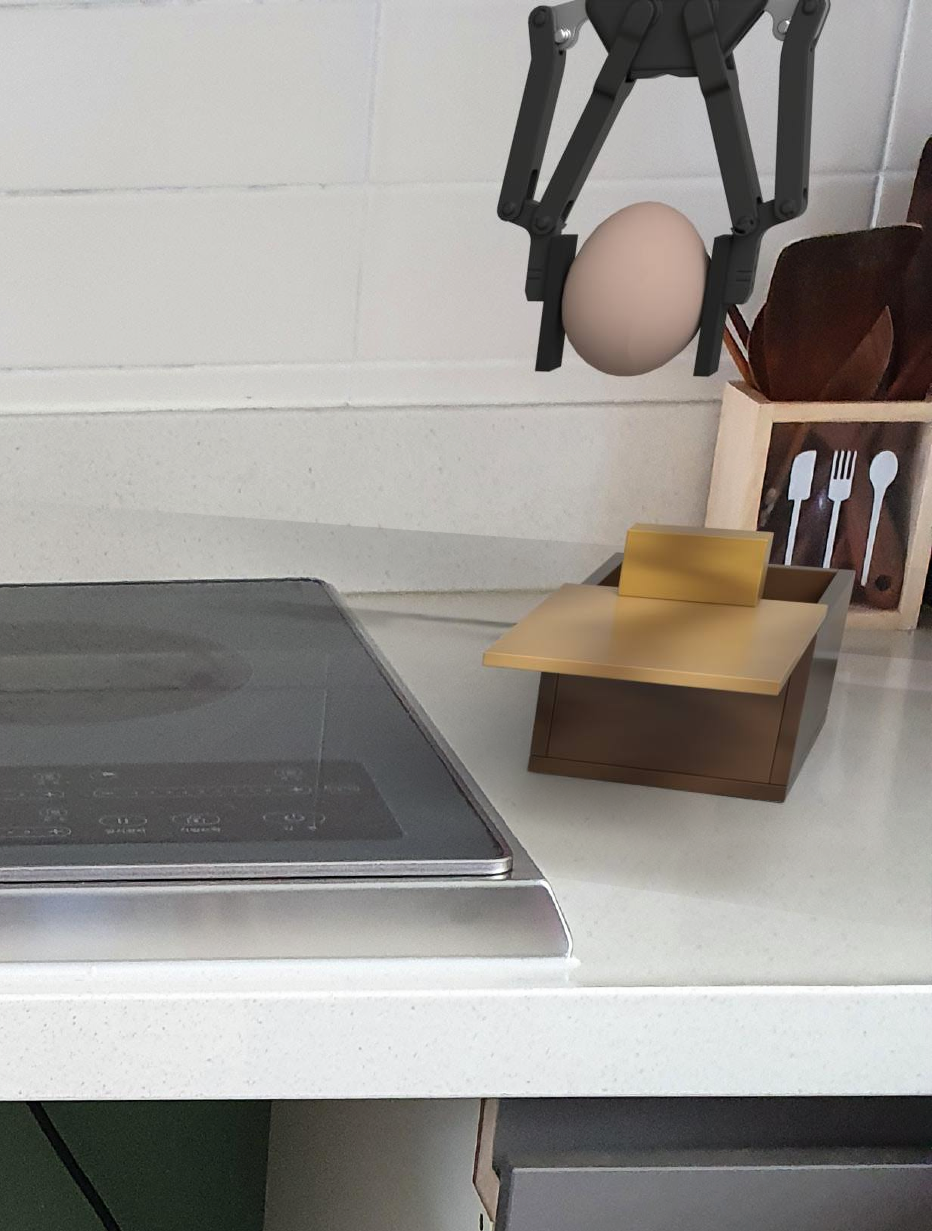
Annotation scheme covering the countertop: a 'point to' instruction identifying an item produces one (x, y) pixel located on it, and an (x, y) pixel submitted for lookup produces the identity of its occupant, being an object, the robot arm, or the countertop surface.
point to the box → (697, 711)
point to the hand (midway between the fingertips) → (625, 370)
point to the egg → (636, 290)
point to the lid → (671, 617)
